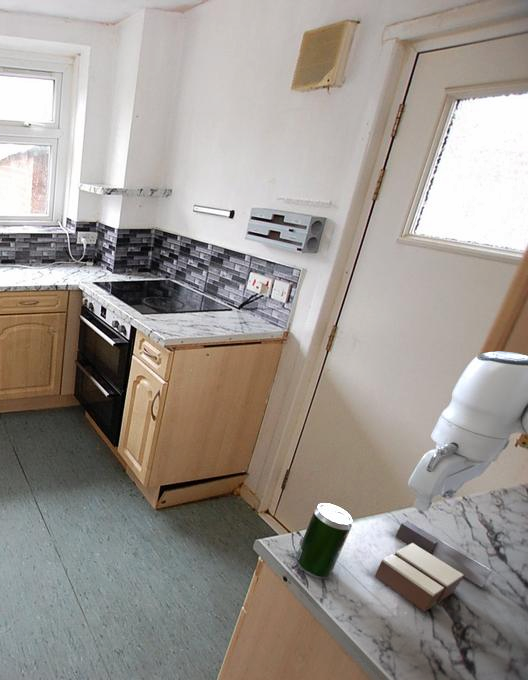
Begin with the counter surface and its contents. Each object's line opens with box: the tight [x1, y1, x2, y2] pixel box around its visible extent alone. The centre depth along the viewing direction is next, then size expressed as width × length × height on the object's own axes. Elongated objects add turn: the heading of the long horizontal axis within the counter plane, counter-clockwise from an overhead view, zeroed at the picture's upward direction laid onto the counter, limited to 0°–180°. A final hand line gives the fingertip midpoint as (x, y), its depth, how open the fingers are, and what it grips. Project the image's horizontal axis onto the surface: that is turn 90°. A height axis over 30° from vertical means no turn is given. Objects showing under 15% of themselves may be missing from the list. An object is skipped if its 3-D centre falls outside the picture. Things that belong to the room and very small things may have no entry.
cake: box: [394, 543, 464, 604], centre depth 79 cm, size 8×6×4 cm
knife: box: [395, 520, 493, 588], centre depth 84 cm, size 13×2×4 cm, turn 26°
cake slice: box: [374, 553, 444, 613], centre depth 77 cm, size 8×3×4 cm, turn 26°
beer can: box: [296, 502, 353, 580], centre depth 79 cm, size 5×5×12 cm
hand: (433, 502), depth 85 cm, fingers open, 8 cm apart
